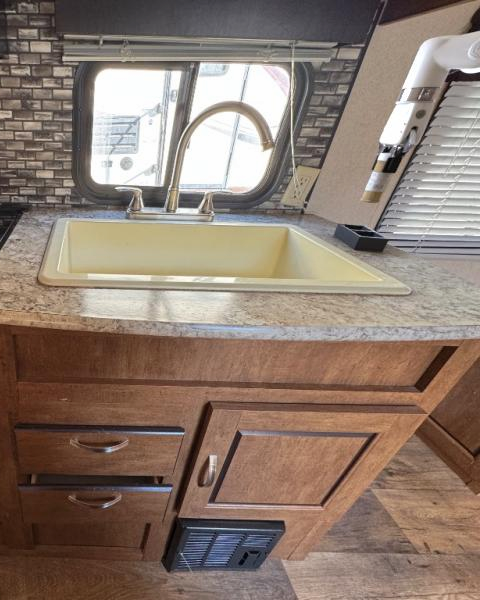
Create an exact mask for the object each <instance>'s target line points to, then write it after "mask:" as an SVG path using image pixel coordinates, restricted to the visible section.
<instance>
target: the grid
mask: <svg viewBox="0 0 480 600" xmlns="http://www.w3.org/2000/svg"><path fill="white" fill-rule="evenodd" d="M332 236H333V237H335V238H336V239H337V240H339V241H340V242H342V243H343V244H344V245H346V246H348V247H349V248H350V249H352V250H353V251H365V252H375V253H383V252H384V250H385V248H386V247H387V245H388V242H389V241H390V237H389V238H388V237H387V236H385V235H383V234H381V233H379V232H377V231H376V230H374V229H372V228H370V227H368V226H367V225H365V224H353V223H351V224H350V223H339V222H338V223H337V225H336V228H335V230H334V233H333V235H332Z"/></svg>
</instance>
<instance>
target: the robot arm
mask: <svg viewBox="0 0 480 600" xmlns="http://www.w3.org/2000/svg"><path fill="white" fill-rule="evenodd" d="M451 70H459V71H461V72H462V73H465V74H476V73H480V30H478V31H474V32H468V33H463V34H459V35H457V34H449V35H440V36H439V35H438V36H435V37H431V38H428V39H427V40H425V41H423V42H422V44H421V45H420V46H419V49H418V51H417V52H416V55H415V58H414V59H413V62H412V65H411V67H410V69H409V71H408V74H407V77H406V79H405V81H404V83H403V85H402V87H401V90H400V92H399V95H398V96H397V99H396V101H395V107H394V108H393V111H391V114H390V116H389V118H388V120H387V122H386V124H385V126H384V127H383V130H382V133H381V135H380V138H379V141H378V151H377V153H376V158H375V160H374V162H373V165H372V167H371V171H372V172H373V171H374V168H375V166H376V164H377V161H378V157H379V155H380V154H381V153H391V156H390V157H388V159H387V161H386V163H385V165H384V167H383V170H382V173H392V174H396V173H397V172H398V169H399V167H400V165H401V162H402V161H403V159H404V158H405V157H406V154H407V153H408V152H410V150H412V149H414V147H415V146H417V145H418V144H419V143H420V141H421V140H422V137H423V135H424V133H425V130H426V129H427V126H428V124H429V120H430V119H431V115H432V113H433V110H434V106H435V101H436V99H437V98H438V96H439V94H440V92H441V89H442V87H443V86H444V84H445V81H446V79H447V77H448V75H449V74H450V71H451Z"/></svg>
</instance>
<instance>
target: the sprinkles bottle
mask: <svg viewBox="0 0 480 600" xmlns="http://www.w3.org/2000/svg"><path fill="white" fill-rule="evenodd" d="M391 153H392V152H391ZM391 153H381V154H380V155H379V157H378V161H377V164H376V166H375V168H374V171H373V170H372V172H371V175H370V177H369V179H368V182H367V184H366V186H365V188H364V192H363V193H362V196H361V198H360V201H361V202H362V203H369V204H377V203H380V199H381V197H382V195H383V194H384V191H385V189H386V188H387V185H388V183H389V182H390V179H391V176H392V174H393V173H382V170H383V167H384V165H385V163H386V161H387V159H388V157H390V156H391Z"/></svg>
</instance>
